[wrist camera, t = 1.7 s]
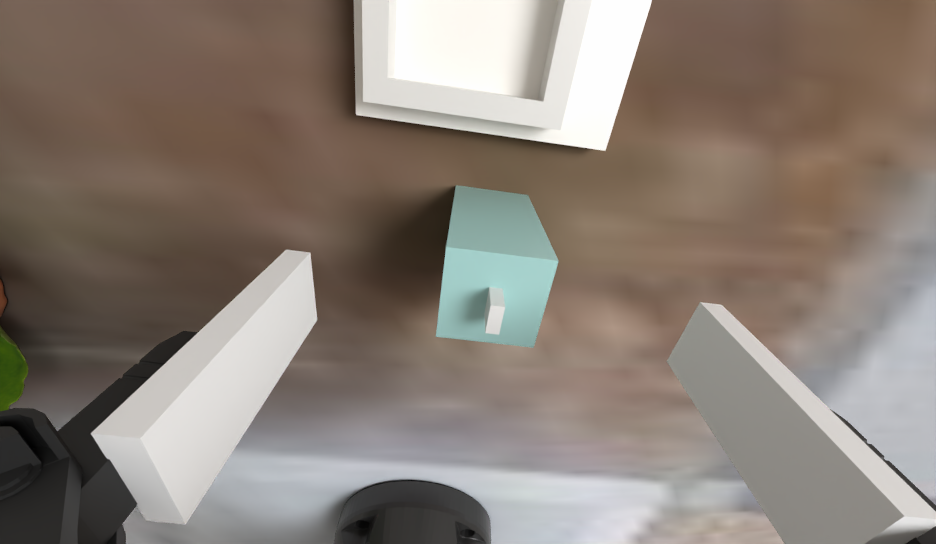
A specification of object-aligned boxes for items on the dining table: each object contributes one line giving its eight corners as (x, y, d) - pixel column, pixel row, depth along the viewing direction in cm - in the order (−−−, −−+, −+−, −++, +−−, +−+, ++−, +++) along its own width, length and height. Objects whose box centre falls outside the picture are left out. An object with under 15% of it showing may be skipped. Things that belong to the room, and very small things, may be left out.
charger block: (513, 259, 21) (538, 368, 13) (448, 251, 21) (433, 357, 13) (527, 195, 19) (566, 277, 11) (455, 185, 19) (443, 262, 11)
